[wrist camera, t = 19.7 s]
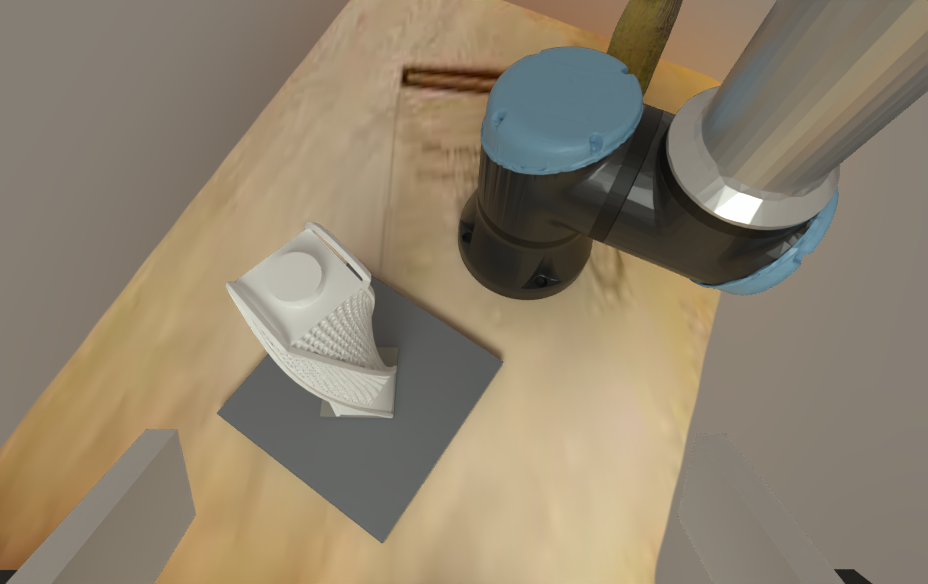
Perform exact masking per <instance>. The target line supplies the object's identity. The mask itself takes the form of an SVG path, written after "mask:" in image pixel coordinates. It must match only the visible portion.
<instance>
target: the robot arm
mask: <svg viewBox="0 0 928 584" xmlns="http://www.w3.org/2000/svg"><path fill="white" fill-rule="evenodd" d="M627 72H628V67H627V66H626V65H625V64H624V63H622V62H621V61H620V60H618V59H616V58H614V57H612V56H610V55H608V54H606V53H604V52H600V51H597V50H594V49H589V48H583V47H556V48H550V49H546V50H542V51H541V52H540V53H539V54H534V55H529V56H526V57H524V58H522V59H520V60H519V61H517V62H516V63H514V64H513V65H511V66H510V67H509V68H508V69H507V70H506V71H505V72H504V73H503V74H502V75H501V76H500V77H499V78H498V80H497V81H496V83H495V85H494V86H493V88H492V90H491V93H490V95H489V99H488V103H487V109H486V115H485V117H484V119H483V122H482V128H481V155H480V168H479V180H478V188H477V189H476V191H475V192H474V193H473V195H472V196H471V198H470V199H469V200H468V202H467V203H466V205H465V207H464V209H463V211H462V214H461V217H460V222H459V232H458V244H459V250H460V254H461V257H462V260H463V262H464V264H465V266H466V267H467V269H468V270H469V272H470V273H471V274H472V276H473V277H474V278H475V279H476V280H477V281H478V282H480V283H481V284H482V285H483V286H485V287H486V288H488V289H489V290H491V291H493V292H495V293H497V294H500V295H502V296H505V297H509V298H513V299H520V300H535V299H542V298H546V297H549V296H552V295H554V294H557V293H559V292H561V291H562V290H564V289H565V288H567V287H568V286H569V285H571V284H572V283H573V282H574V281H575V280H576V278H577V277H578V276H579V275H580V273H581V271H582V270H583V268H584V266H585V264H586V262H587V260H588V258H589V255H590V252H591V248H592V242H593V239H594V240H597V241H599V242H602V243H604V244H606V245H608V246H611V247H613V248H616V249H618V250H621V251H623V252H626V253H628V254H631V255H633V256H635V257H638V258H640V259H643V260H645V261H648V262H650V263H653V264H655V265H658V266H660V267H662V268H665V269H667V270H670V271H672V272H675V273H677V274H679V275H682V276H684V277H686V278H689V279H690V280H691V281H693V282H694V283H696V284H698V285H700V286H703V287H706V288H713V289H718V290H721V291H724V292H727V293H730V294H734V295H752V294H756V293H760V292H763V291H765V290H767V289H769V288H772V287H773V286H775V285H777V284H778V283H780V282H781V281H783V280H784V279H786V278H787V277H788V276H789V275H791V274H792V273H793V272H794V271H795V270H796V269H797V268H798V267H799V266H800V265H801V260H802V257H803V256H804V255H806V254H810V253H812V252H813V251H814V249H815V248H816V247H817V245H818V244H819V242H820V241H821V240H822V238H823V237H824V235H825V233H826V231H827V230H828V228H829V226H830V224H831V221H832V220H833V217H834V214H835V211H836V207H837V203H838V196H839V193H838V181H839V175H840V163H842V162H843V161H844V160H845V159H847V158H848V157H849V156H850V155H851V154H853V153H854V152H855V151H856V150H857V149H858V148H860V147H861V146H862V145H863V144H865V143H866V142H867V141H868V140H869V139H871V138H872V137H873V136H874V135H875V134H877V133H878V132H879V131H880V130H882V129H883V128H884V127H885V126H886V125H887V124H889V123H890V122H891V121H892V120H894V119H895V118H896V117H897V116H898V115H900V114H901V113H902V112H903V111H904V110H906V109H907V108H908V107H909V106H911V105H912V104H913V103H914V102H915V101H916V100H918V99H919V98H920V97H921V96H923V95H924V94H925V93H926V92H927V91H928V0H777V1H776V3H775V4H774V6H773V7H772V9H771V10H770V12H769V13H768V15H767V16H766V18H765V19H764V21H763V22H762V24H761V25H760V27H759V28H758V30H757V31H756V33H755V34H754V36H753V37H752V39H751V41H750V42H749V44H748V45H747V47H746V48H745V50H744V51H743V53H742V54H741V56H740V58H739V59H738V60H737V62H736V63H735V65H734V66H733V68H732V69H731V71H730V72H729V74H728V75H727V77H726V78H725V80H724V82H723V83H722V84H721V86H718V87H714V88H710V89H708V90H705V91H703V92H701V93H699V94H697V95H695V96H693V97H692V98H691V99H690V100H688V101H687V102H686V103H685V104H684V105H683V106H682V107H681V109H680V110H679V111H678V112H677V113H676V115H675V114H672V113H669V112H666V111H663V110H660V109H657V108H655V107H652V106H649V105H646V104H644V103H643V97H642V90H641V86H640V84H639V81H638V79H637V78H636V77H635V75H634V74H628V73H627ZM195 516H196V511H195V507H194V502H193V498H192V493H191V489H190V484H189V480H188V475H187V470H186V466H185V461H184V457H183V452H182V448H181V443H180V439H179V434H178V430H177V429H146V430H145V431H144V432H143V433H142V435H141V436H140V437H139V438H138V439H137V440H136V441H135V442H134V443H133V444H132V446H131V447H130V448H129V449H128V450H127V451H126V452H125V453H124V454H123V455H122V456H121V458H120V459H119V460H118V461H117V462H116V463H115V464H114V465H113V466H112V467H111V469H110V470H109V471H108V472H107V473H106V474H105V475H104V476H103V477H102V478H101V480H100V481H99V482H98V483H97V484H96V485H95V486H94V487H93V488H92V489H91V491H90V492H89V493H88V494H87V495H86V496H85V497H84V498H83V499H82V500H81V501H80V503H79V504H78V505H77V506H76V507H75V508H74V509H73V510H72V511H71V512H70V514H69V515H68V516H67V517H66V518H65V519H64V520H63V521H62V522H61V523H60V525H59V526H58V527H57V528H56V529H55V530H54V531H53V532H52V533H51V534H50V536H49V537H48V538H47V539H46V540H45V541H44V542H43V543H42V544H41V545H40V546H39V548H38V549H37V550H36V551H35V552H34V553H33V554H32V555H31V556H30V557H29V559H28V560H27V561H26V562H25V563H24V564H23V565H22V566H21V567H20V568H19V570H0V584H154V583H155V581H156V580H157V578H158V576H159V575H160V573H161V571H162V570H163V568H164V566H165V565H166V563H167V562H168V560H169V558H170V557H171V555H172V553H173V552H174V550H175V548H176V547H177V545H178V543H179V542H180V540H181V539H182V537H183V535H184V534H185V532H186V530H187V529H188V527H189V525H190V524H191V522H192V521H193V519H194V517H195ZM678 518H679V520H680V522H681V524H682V526H683V528H684V530H685V531H686V533H687V535H688V537H689V539H690V541H691V543H692V545H693V546H694V549H695V550H696V552H697V554H698V556H699V558H700V560H701V562H702V564H703V566H704V568H705V569H706V571H707V573H708V575H709V577H710V579H711V581H712V583H713V584H872V583H871V582H869V581H868V580H867V579H865V578H864V577H863V576H861V575H860V574H859V573H858V572H856V571H855V570H854V569H846V570H845V569H833V568H832V567H831V565H830V564H829V563H828V562H827V560H825V558H824V557H823V556H822V554H821V553H820V552H819V550H818V549H817V548H816V547H815V545H814V544H813V543H812V542H811V540H810V539H809V538H808V536H807V535H806V534H805V533H804V531H803V530H802V529H801V528H800V526H799V525H798V524H797V523H796V521H795V520H794V519H793V518H792V516H791V515H790V514H789V513H788V511H787V510H786V509H785V508H784V506H783V505H782V504H781V503H780V501H779V500H778V499H777V497H776V496H775V495H774V494H773V492H772V491H771V490H770V489H769V487H768V486H767V485H766V484H765V482H764V481H763V480H762V479H761V477H760V476H759V475H758V474H757V472H756V471H755V470H754V468H753V467H752V466H751V465H750V463H749V462H748V461H747V460H746V458H745V457H744V456H743V455H742V453H741V452H740V451H739V450H738V448H737V447H736V446H735V445H734V443H733V442H732V441H731V439H730V438H729V437H728V436H727V434H696V438H695V442H694V447H693V451H692V455H691V460H690V464H689V468H688V473H687V477H686V482H685V486H684V490H683V494H682V499H681V503H680V507H679V512H678Z"/></svg>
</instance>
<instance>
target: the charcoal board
mask: <svg viewBox="0 0 928 584" xmlns="http://www.w3.org/2000/svg"><path fill="white" fill-rule="evenodd" d="M346 266H347V267H348V268H349V269H350V270H351V271H352V272H353V273H354V274H355V275H356V276H357V277H358V278H359V279H360V280H361V281H362V280H363V279H362V277H361V276H360V275H359V274H358V273H357V272H356V271H355V269H354V268H353V267H352V266H351V265H350V264H349V263H348V264H347V265H346ZM370 285H371V286H372V288H373V290H374V294H375V305H374V310H373V314H372V330H373V337H374V341H375V345H376V347H394V348H398V360H397V375H396V390H395V405H394V418H349V417H320V411H321V403H322V398H320V397H318V396H316V395H314V394H313V393H311V392H309V391H307V390H306V389H305V388H303V387H302V386H300V385H299V384H298V383H296V382H295V381H294V380H293V379H292V378H291V377H289V376H288V375H287V374H286V373H285V372H284V371H283V370H282V369H281V368H280V367H279V366H278V365H277V363H276V362H275V361H274V360H273V359H272V357H271V356H270V355H269V354H268V355H267V356H266V357H265V358H264V360H263V361H262V362H261V363H260V364H259V365H258V366H257V368H256V369H255V370H254V371H253V372H252V373H251V375H250V376H249V377H248V378H247V379H246V380H245V381H244V383H243V384H242V385H241V386H240V387H239V388H238V389H237V391H236V392H235V393H234V394H233V395H232V396H231V397H230V399H229V400H228V401H227V402H226V403H225V404H224V405H223V407H222V408H221V409H220V410H219V411H218V412H217V414H218V415H219V416H221V417H222V418H223V419H225V420H226V421H227V422H228V423H230V424H231V425H232V426H233V427H235V428H236V429H237V430H238V431H240V432H241V433H242V434H244V435H245V436H246V437H247V438H249V439H250V440H251V441H252V442H254V443H255V444H256V445H258V446H259V447H260V448H261V449H263V450H264V451H265V452H266V453H268V454H269V455H270V456H272V457H273V458H274V459H275V460H277V461H278V462H279V463H280V464H282V465H283V466H284V467H286V468H287V469H288V470H289V471H291V472H292V473H293V474H294V475H296V476H297V477H298V478H299V479H301V480H302V481H303V482H305V483H306V484H307V485H308V486H310V487H311V488H312V489H313V490H315V491H316V492H317V493H319V494H320V495H321V496H322V497H324V498H325V499H326V500H327V501H329V502H330V503H331V504H333V505H334V506H335V507H336V508H338V509H339V510H340V511H341V512H343V513H344V514H345V515H346V516H348V517H349V518H350V519H352V520H353V521H354V522H355V523H357V524H358V525H359V526H360V527H362V528H363V529H364V530H366V531H367V532H368V533H369V534H371V535H372V536H373V537H374V538H376V539H377V540H378V541H380V542H381V543H384V542H385V540H386V539H387V537H388V536H389V534H390V533H391V531H392V530H393V528H394V527H395V525H396V524H397V522H398V521H399V519H400V518H401V516H402V515H403V513H404V512H405V510H406V509H407V507H408V506H409V504H410V503H411V501H412V500H413V498H414V497H415V495H416V494H417V492H418V491H419V489H420V488H421V486H422V485H423V483H424V482H425V480H426V479H427V477H428V476H429V474H430V473H431V471H432V470H433V468H434V467H435V465H436V464H437V462H438V461H439V459H440V458H441V456H442V455H443V453H444V452H445V450H446V449H447V447H448V446H449V444H450V443H451V441H452V440H453V438H454V437H455V435H456V434H457V432H458V431H459V429H460V428H461V426H462V425H463V423H464V422H465V420H466V419H467V417H468V416H469V415H470V413H471V412H472V410H473V409H474V407H475V406H476V404H477V403H478V401H479V400H480V398H481V397H482V395H483V394H484V392H485V391H486V389H487V388H488V386H489V385H490V383H491V382H492V380H493V379H494V377H495V376H496V374H497V373H498V371H499V370H500V368H501V367H502V365H503V361H501V360H500V359H498V358H497V357H495V356H494V355H492V354H491V353H489V352H488V351H486V350H485V349H483V348H482V347H480V346H478V345H477V344H475V343H474V342H472V341H471V340H469V339H468V338H466V337H465V336H463V335H462V334H460V333H459V332H457V331H456V330H454V329H453V328H451V327H450V326H448V325H446V324H445V323H443V322H442V321H440V320H439V319H437V318H436V317H434V316H433V315H431V314H430V313H428V312H427V311H425V310H424V309H422V308H421V307H419V306H418V305H416V304H414V303H413V302H411V301H410V300H408V299H407V298H405V297H404V296H402V295H401V294H399V293H398V292H396V291H395V290H393V289H392V288H390V287H389V286H387V285H386V284H384V283H382V282H381V281H379V280H378V279H376V278H375V277H373V276H372V275H371V282H370Z"/></svg>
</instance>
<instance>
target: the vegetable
mask: <svg viewBox="0 0 928 584" xmlns="http://www.w3.org/2000/svg"><path fill="white" fill-rule="evenodd" d="M682 1H683V0H630V1H629V3H628V5H627V6H626V8H625V10H624V12H623V14H622V16H621V18H620V20H619V22H618V24H617V26H616V28H615V31H614V33H613V37H612V39H611V42H610V45H609V47H608V51H607V54H608V55H610V56H612V57H614V58H616V59H618V60H620V61H621V62H622V63H624V64H625V65H626V66H627V67H628V72H627V73H628V74H634V75H635V77H636V78H637V79H638V81H639V84H640V86H641V90H642V97H643V96H644V94H645V92H646V90H647V88H648V86H649V83H650V80H651V78H652V75H653V73H654V70H655V68H656V66H657V63H658V61H659V59H660V56H661V54H662V52H663V49H664V47H665V45H666V42H667V40H668V38H669V35H670V33H671V30H672V27H673V25H674V23H675V21H676V18H677V15H678V13H679V10H680V7H681V4H682Z"/></svg>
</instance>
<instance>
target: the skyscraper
mask: <svg viewBox="0 0 928 584" xmlns="http://www.w3.org/2000/svg"><path fill="white" fill-rule="evenodd" d="M312 230H313V231H315V232H316V233H317V234H319V235H320V236H321V237H322V238H323V239H324V240H325V241H326V242H328V243H329V244H330V245H331V246H332V247H333V248H334V249H335V250H336V251H337V252H338V253H339V254H340V255H341V256H342V257H343V258H344V259H345V260H346V261H347V262H348V263H349V264H350V265H351V266H352V267H353V268H354V269H355V271H356V272H357V273H358V274H359V275H360V276H361V277H362V279H363V280H362V281H361V280H360V279H359V278H358V277H357V276H356V275H355V274H354V273H353V272H352V271H351V270H350V269H349V268H348V267H347V266H346V265H345V264H344V263H343V262H342V261H341V260H340V259H339V258H338V257H337V256H336V255H335V254H334V253H333V252H332V251H331V250H330V249H329V248H328V246H327V245H326V244H325V243H324V242H323V241H322V240H321V239H320V238H319V237H318V236H317V235H316V234H315V233H314V232H313V231H312ZM370 282H371V273H370V272H369V271H368V270H367V269H366V267H365V266H364V265H363V264H362V263H361V262H360V261H359V260H358V259H357V258H356V257H355V256H354V255H353V254H352V253H351V252H350V251H349V250H348V249H347V248H346V247H345V246H344V245H343V244H342V243H341V242H340V241H339V240H338V239H337V238H336V237H335V236H334V235H332V234H331V233H330V232H329V231H328V230H327V229H325V228H324V227H323V226H321V225H319V224H317V223H312V222H307V223H306V224H305V228H304V231H303V232H301V233H300V234H299V235H297V236H296V237H294V238H293V239H292V240H290V241H289V242H288V243H286V244H285V245H284V246H282V247H281V248H279V249H278V250H277V251H275V252H274V253H273V254H271V255H270V256H269V257H267V258H266V259H265V260H263V261H262V262H260V263H259V264H258V265H256V266H255V267H254V268H252V269H251V270H250V271H248V272H247V273H246V274H244V275H243V276H241V277H240V278H239V279H237V280H236V281H235V282H229V281H226V289H227V290H228V292H229V294H230V295H231V297H232V299H233V300H234V302H235V304H236V305H237V307H238V309H239V310H240V312H241V313H242V315H243V317H244V318H245V320H246V321H247V323H248V325H249V326H250V328H251V329H252V331H253V333H254V334H255V335H256V337H257V338H258V340H259V341H260V343H261V344H262V345H263V347H264V348H265V350H266V351H267V352H268V354H269V355H270V356H271V357H272V359H273V360H274V361H275V362H276V363H277V365H278V366H279V367H280V368H281V369H282V370H283V371H284V372H285V373H286V374H287V375H288V376H289V377H291V378H292V379H293V380H294V381H295V382H296V383H298V384H299V385H300V386H302V387H303V388H305V389H306V390H307V391H309V392H311V393H313V394H314V395H316V396H318V397H320V398H322V403H321V411H320V417H349V418H394V405H395V390H396V375H397V360H398V348H394V347H376V345H375V341H374V337H373V330H372V314H373V310H374V305H375V294H374V290H373V288H372V286H371V285H370Z"/></svg>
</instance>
